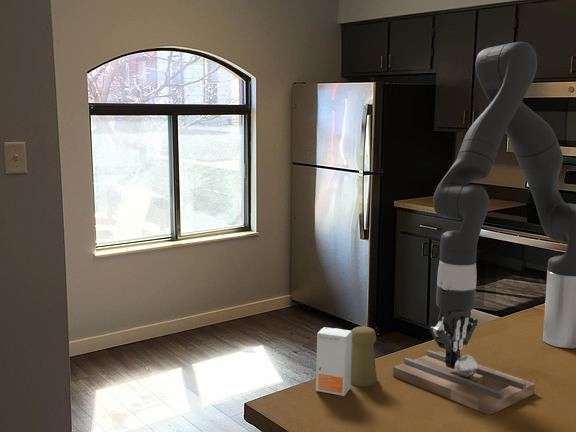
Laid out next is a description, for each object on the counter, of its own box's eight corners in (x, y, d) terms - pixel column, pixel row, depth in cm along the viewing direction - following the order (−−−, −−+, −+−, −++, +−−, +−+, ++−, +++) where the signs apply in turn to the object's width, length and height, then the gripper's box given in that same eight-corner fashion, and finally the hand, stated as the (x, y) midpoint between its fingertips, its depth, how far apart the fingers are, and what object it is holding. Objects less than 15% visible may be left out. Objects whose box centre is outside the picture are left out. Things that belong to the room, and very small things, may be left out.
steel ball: (465, 349, 132) (483, 357, 128) (463, 369, 133) (481, 377, 129) (450, 354, 129) (468, 362, 126) (449, 375, 130) (466, 383, 127)
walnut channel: (438, 359, 144) (439, 346, 144) (534, 393, 127) (535, 378, 126) (392, 376, 135) (393, 362, 135) (489, 415, 117) (490, 399, 117)
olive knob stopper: (376, 387, 129) (377, 334, 128) (345, 384, 130) (346, 331, 129) (378, 375, 135) (379, 324, 134) (349, 373, 136) (350, 322, 135)
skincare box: (315, 391, 127) (315, 332, 125) (322, 383, 131) (323, 326, 129) (345, 397, 125) (346, 336, 123) (351, 388, 129) (352, 330, 127)
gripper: (461, 275, 137) (457, 354, 139) (419, 285, 128) (416, 369, 131) (492, 282, 131) (487, 365, 133) (451, 293, 123) (446, 381, 125)
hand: (452, 367), depth 132 cm, fingers closed
